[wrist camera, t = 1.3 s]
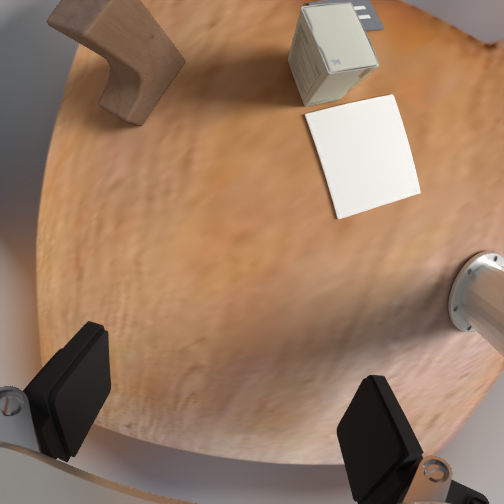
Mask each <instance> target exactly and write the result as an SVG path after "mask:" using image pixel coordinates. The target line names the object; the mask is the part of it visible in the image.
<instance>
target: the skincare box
mask: <svg viewBox="0 0 504 504" xmlns="http://www.w3.org/2000/svg"><path fill="white" fill-rule="evenodd" d="M288 63H289V66H290V69H291V71H292V74H293V77H294V80H295V82H296V85H297V88H298V91H299V93H300V96H301V99H302V101H303V104H304V106H305V107H307V106H312V105H317V104H322V103H327V102H331V101H336V100H339V99H341V98H342V97H343V96H344V95H345V94H346V93H348V92H349V91H350V90H351V89H352V88H353V87H355V86H356V85H357V84H358V83H359V82H361V81H362V80H363V79H364V78H365V77H366V76H368V75H369V74H370V73H371V72H372V71H374V70H375V69H376V68H377V67H378V66H379V63H378V60H377V57H376V54H375V52H374V49H373V47H372V44H371V42H370V39H369V37H368V35H367V33H366V31H365V28H364V26H363V24H362V22H361V20H360V18H359V16H358V15H357V13H356V11H355V9H354V7H353V5H352V4H351V3H329V4H318V5H310V6H303V7H301V10H300V14H299V18H298V22H297V26H296V30H295V33H294V37H293V41H292V45H291V49H290V52H289V56H288Z"/></svg>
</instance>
